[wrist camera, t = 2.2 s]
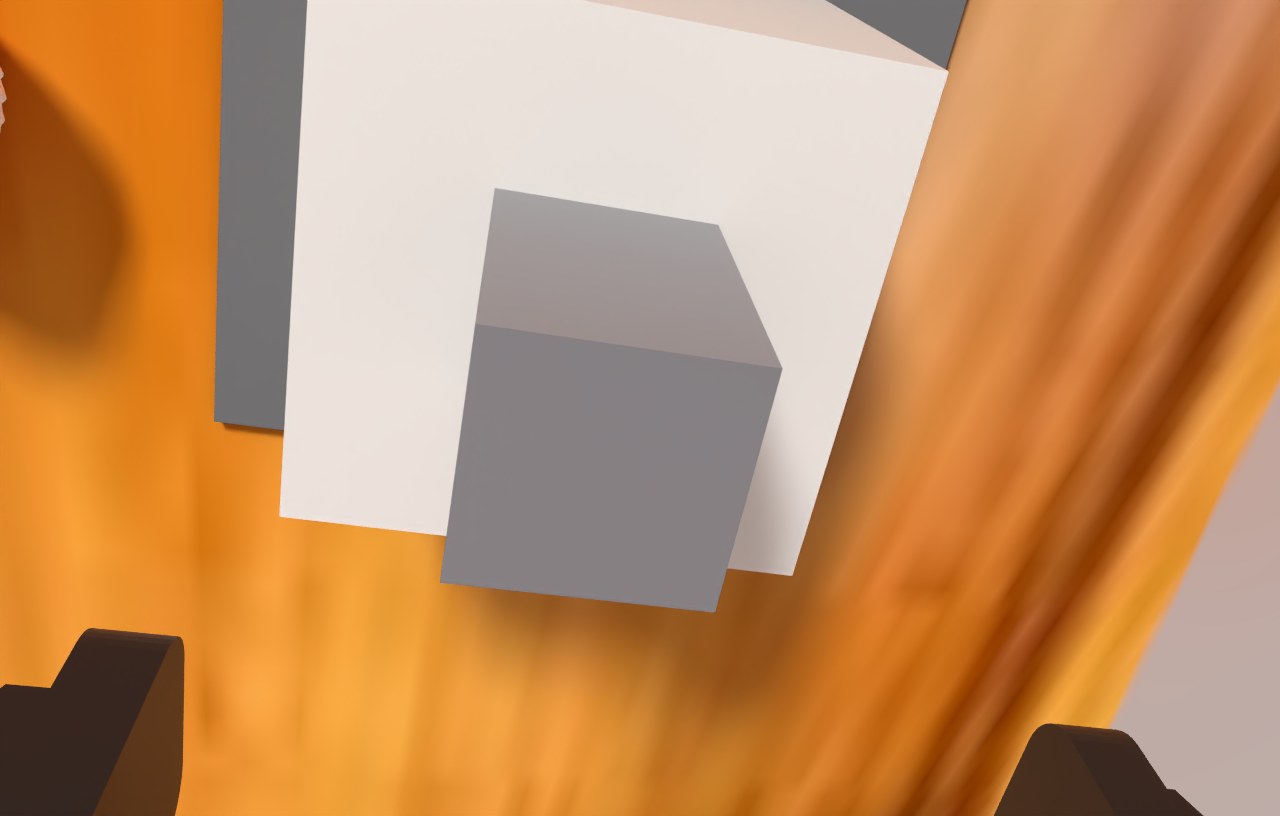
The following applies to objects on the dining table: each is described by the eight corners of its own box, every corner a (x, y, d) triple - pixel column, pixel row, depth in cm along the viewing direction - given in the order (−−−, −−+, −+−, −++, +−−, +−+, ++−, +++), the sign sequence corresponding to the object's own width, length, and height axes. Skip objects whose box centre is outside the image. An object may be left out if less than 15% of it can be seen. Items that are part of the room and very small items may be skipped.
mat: (1002, -134, 27) (1008, -134, 26) (810, 491, 35) (812, 498, 34) (234, -309, 24) (229, -312, 23) (217, 414, 32) (214, 421, 31)
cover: (820, -3, 27) (1109, 164, 13) (725, 375, 32) (865, 793, 18) (389, -90, 26) (203, -4, 12) (355, 322, 30) (193, 736, 16)
